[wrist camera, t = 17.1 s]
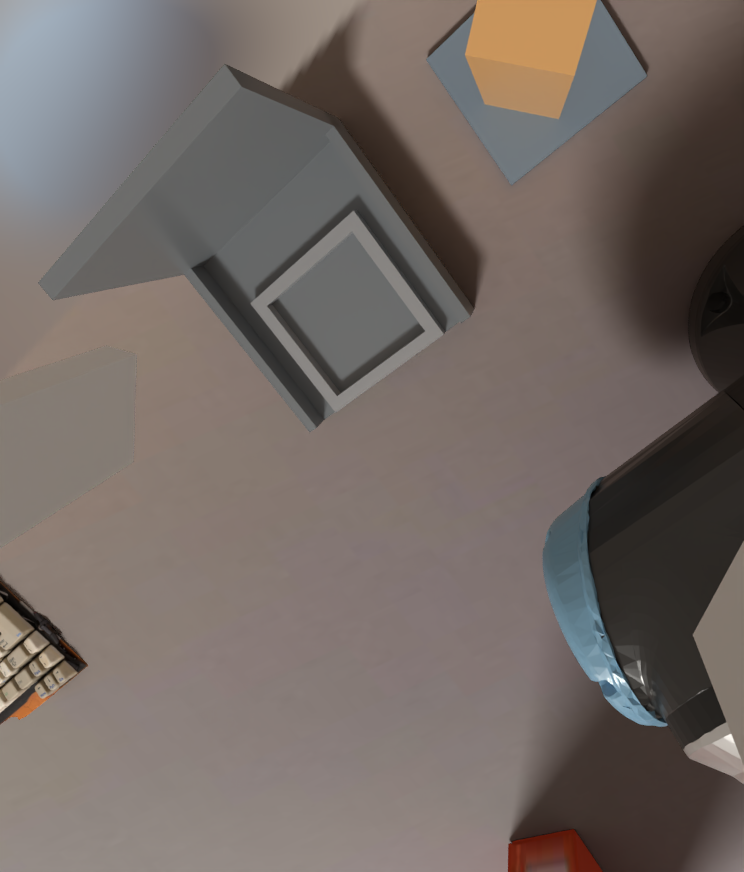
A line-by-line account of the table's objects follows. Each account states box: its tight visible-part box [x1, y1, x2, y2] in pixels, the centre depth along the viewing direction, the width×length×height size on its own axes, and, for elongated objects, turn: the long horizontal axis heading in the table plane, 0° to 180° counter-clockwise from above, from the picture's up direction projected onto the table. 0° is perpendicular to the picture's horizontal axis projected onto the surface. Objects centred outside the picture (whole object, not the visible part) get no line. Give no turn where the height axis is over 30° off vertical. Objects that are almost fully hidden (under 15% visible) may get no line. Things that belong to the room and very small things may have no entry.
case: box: [38, 64, 474, 432], centre depth 39 cm, size 18×16×18 cm
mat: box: [426, 0, 647, 185], centre depth 38 cm, size 10×10×1 cm
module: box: [465, 0, 597, 119], centre depth 32 cm, size 5×5×14 cm
